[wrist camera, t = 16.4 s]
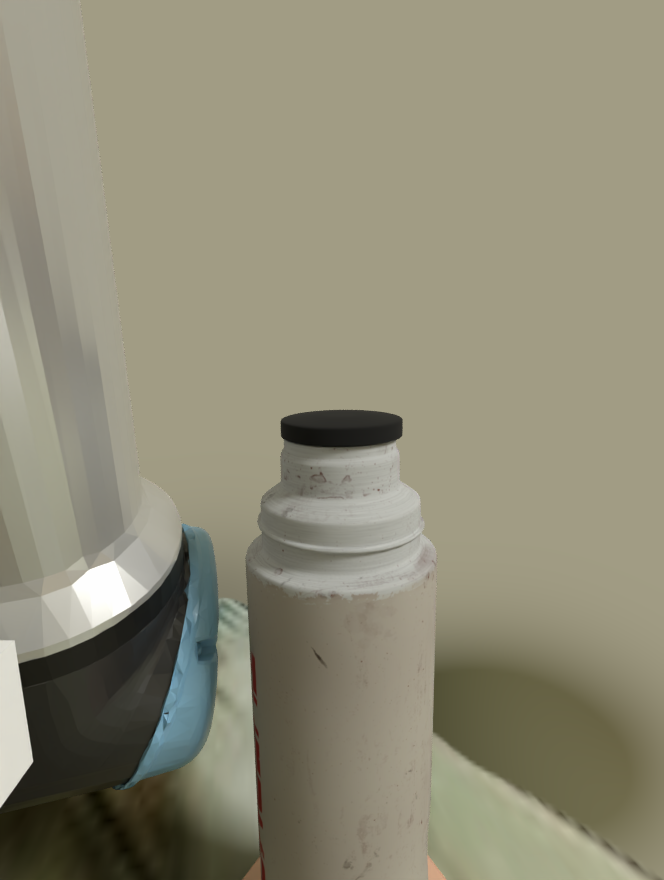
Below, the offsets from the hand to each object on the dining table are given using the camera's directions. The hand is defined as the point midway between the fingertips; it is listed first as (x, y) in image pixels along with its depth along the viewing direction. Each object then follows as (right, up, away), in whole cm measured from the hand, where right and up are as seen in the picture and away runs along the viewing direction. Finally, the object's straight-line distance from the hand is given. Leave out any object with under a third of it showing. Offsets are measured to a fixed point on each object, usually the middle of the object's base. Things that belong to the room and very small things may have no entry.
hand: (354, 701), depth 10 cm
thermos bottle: (0, -22, +16) cm, 27 cm away
